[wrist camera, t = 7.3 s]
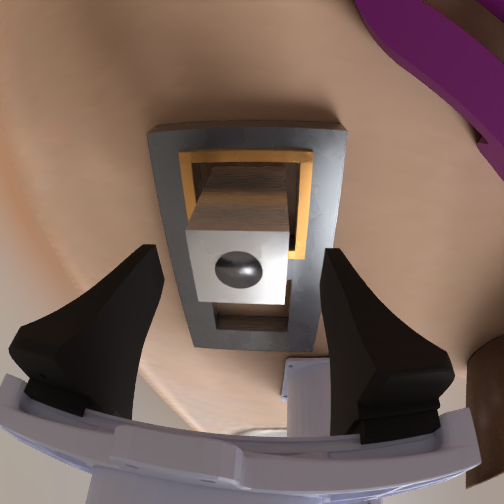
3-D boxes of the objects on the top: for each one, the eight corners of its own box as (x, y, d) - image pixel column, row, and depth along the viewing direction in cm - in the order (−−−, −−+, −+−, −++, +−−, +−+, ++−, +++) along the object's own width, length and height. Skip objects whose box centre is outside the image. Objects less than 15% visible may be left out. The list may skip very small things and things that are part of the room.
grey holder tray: (310, 337, 26) (311, 353, 24) (197, 333, 26) (193, 348, 25) (341, 123, 15) (348, 132, 13) (156, 125, 15) (145, 134, 14)
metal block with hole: (282, 226, 19) (284, 305, 14) (218, 225, 19) (198, 302, 14) (284, 166, 17) (289, 232, 11) (213, 166, 17) (184, 231, 12)
